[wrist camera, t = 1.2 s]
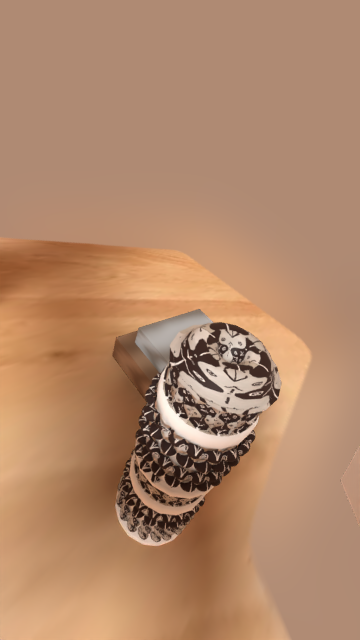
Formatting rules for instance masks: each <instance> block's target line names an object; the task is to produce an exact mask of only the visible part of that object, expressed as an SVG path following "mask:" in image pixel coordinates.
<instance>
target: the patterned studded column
mask: <svg viewBox="0 0 360 640" xmlns="http://www.w3.org/2000/svg"><path fill="white" fill-rule="evenodd" d="M280 387H281V380H280V376H279V373H278V369H277V366H276V364H275V363H274V362H273V360H272V359H271V356H270V353H269V352H268V350H267V349H266V348H265V346H264V345H263V343H262V342H261V341H260V340H259V339H257V338H256V337H255V336H254V335H252V334H251V333H250V332H248V331H246V330H244V329H242V328H240V327H238V326H236V325H231V324H227V323H222V322H219V323H207V324H203V325H193V326H191V327H188V328H186V329H184V330H182V331H180V332H179V333H178V334H177V335H176V337H175V338H174V340H173V341H172V342H171V344H170V357H169V362H168V365H167V366H166V367H165V368H164V369H163V371H162V372H160V373H158V374H157V375H156V376H155V377H154V378H153V379H152V384H150V386H149V389H148V390H147V391H146V393H145V399H146V401H147V404H146V406H145V407H144V408H143V409H142V415H141V416H140V417H139V425H140V427H141V428H140V429H139V430H138V431H137V432H136V445H135V449H134V450H133V451H132V453H131V458H130V460H128V461H127V462H126V468H125V469H124V471H123V475H122V476H121V478H120V483H119V485H118V490H117V497H116V504H115V508H116V512H117V517H118V521H119V523H120V525H121V526H122V528H123V529H124V530H125V532H126V533H127V535H128V536H129V537H131V538H132V539H134V540H136V541H137V542H139V543H141V544H142V545H151V546H160V545H163V544H166V543H168V542H171V541H173V540H174V539H175V538H176V537H177V536H178V535H179V534H181V532H182V531H183V530H184V528H185V527H186V525H188V524H189V523H190V520H191V519H193V518H194V514H195V513H196V512H198V510H199V507H200V506H202V505H203V504H204V500H205V499H204V496H205V495H206V494H207V493H208V492H209V491H210V490H211V489H212V488H213V487H214V486H217V485H219V484H220V483H221V480H222V476H226V475H227V474H228V473H229V472H230V469H231V467H233V466H236V465H237V464H238V463H239V460H240V457H239V456H243V455H244V454H246V453H247V452H248V451H249V449H250V443H252V442H253V441H254V439H255V432H254V430H253V429H254V428H255V426H256V425H257V423H258V419H259V416H260V413H262V411H265V410H266V409H267V408H268V407H270V406H271V405H272V404H273V403H274V402H275V401H276V400H277V399H278V396H279V392H280ZM155 390H156V392H155ZM155 401H156V402H155ZM238 444H239V445H238ZM237 445H238V448H237Z"/></svg>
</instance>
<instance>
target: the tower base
mask: <svg viewBox="0 0 360 640" xmlns="http://www.w3.org/2000/svg"><path fill="white" fill-rule="evenodd" d="M207 323H213V322H212V321H211V320H210V319H209V318H208V317H207V316H206V315H205V314H204V313H203V312H202V311H201V310H200V309H198V310H194V311H191V312H188V313H185V314H182V315H178V316H175V317H172V318H169V319H166V320H162V321H159V322H156V323H153V324H150V325H146V326H143V327H140V328H139V329H138V331H135V332H132V333H129V334H126V335H123V336H119V337H116V341H115V346H114V351H113V357H114V359H115V360H116V361H117V363H118V364H119V365H120V367H121V368H122V369H123V371H124V372H125V373H126V375H127V376H128V377H129V379H130V380H131V381H132V383H133V384H134V385H135V387H136V388H137V389H138V391H139V392H140V394H141V395H142V396H143V398H144V399H145V393H146V391H147V390H148V389H149V386H150V384H152V379H153V378H154V377H155V376H156V375H157V374H158V373H160V372H162V371H163V369H164V368H165V367H166V366H167V365H168V362H169V357H170V344H171V342H172V341H173V340H174V338H175V337H176V335H177V334H178V333H179V332H180V331H182V330H184V329H186V328H188V327H191V326H193V325H203V324H207ZM155 392H156V390H155ZM145 400H146V399H145ZM146 402H147V401H146ZM155 402H156V401H155Z"/></svg>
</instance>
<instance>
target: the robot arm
mask: <svg viewBox="0 0 360 640" xmlns="http://www.w3.org/2000/svg"><path fill="white" fill-rule="evenodd" d="M340 481H341V484H342V486H343V488H344V491H345V493H346V495H347V498H348V500H349V503H350V505H351V507H352V510H353V512H354V514H355V517H356V519H357V521H358V524H359V526H360V445H359V447H358V449H357V451H356V453H355V454H354V456H353V458H352V460H351V462H350V463H349V465H348V467H347V469H346V471H345V473H344V474H343V476H342V478H341V480H340Z"/></svg>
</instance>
